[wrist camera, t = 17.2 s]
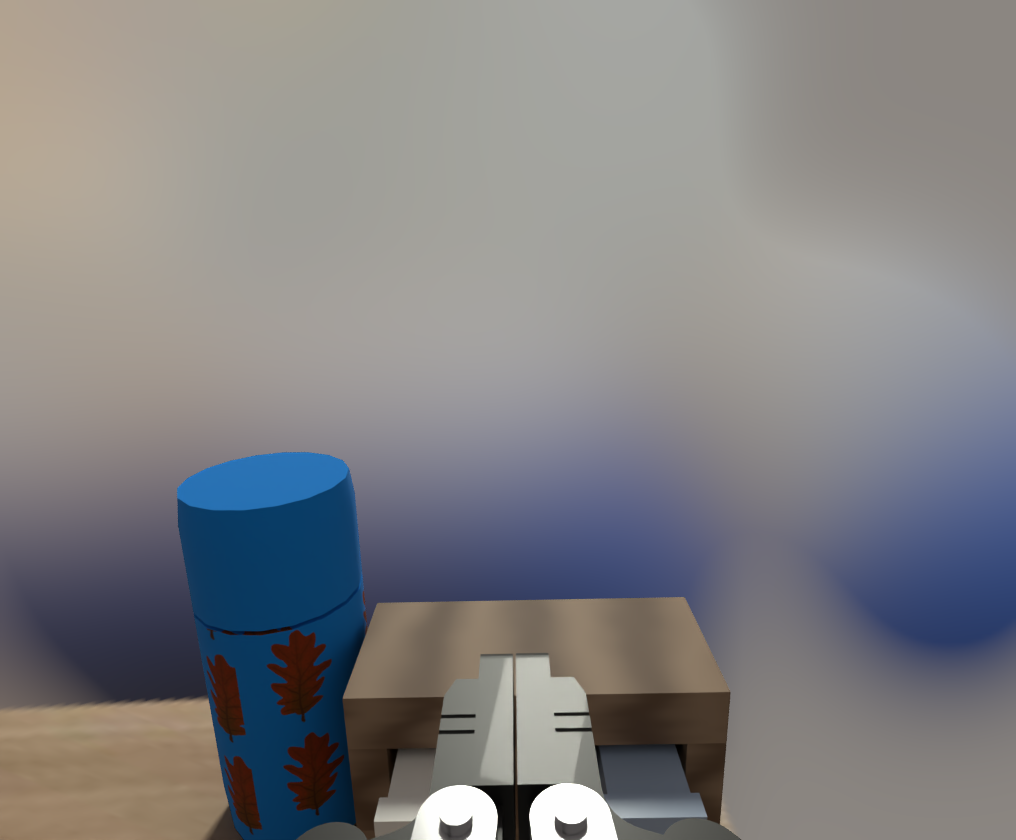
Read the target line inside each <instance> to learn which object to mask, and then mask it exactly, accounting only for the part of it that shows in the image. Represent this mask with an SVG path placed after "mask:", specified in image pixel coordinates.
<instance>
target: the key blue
mask: <svg viewBox="0 0 1016 840" xmlns="http://www.w3.org/2000/svg"><path fill="white" fill-rule="evenodd" d="M595 751H596V757H597V763H598V769H599V775H600V781H601V787H602V792H603V795H604V798H605V800H606V802H607V803H608V805H609V806H610V808H611V809H612V810H613V811H614V812H615V813H616V814H617V815H618V816H619V817H620V818H622V819H623V820H625V821H626V822H628V823H630V824H632V825H634V826H636V827H639V828H642V829H645V830H648V831H652V832H655V833H659V834H662V835H664V833H665V831H666V830H667V829H668V828H669V827H670V826H671V825H672V824H674V823H675V822H678V821H680V820H684V819H689V818H699V819H705V820H707V814H706V811H705V808H704V805H703V802H702V800H701V797H700V794H699V793H690V789H689V786H688V783H687V780H686V777H685V774H684V771H683V768H682V765H681V762H680V759H679V756H678V753H677V749H676V746H675V744H645V745H595Z"/></svg>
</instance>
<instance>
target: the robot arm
mask: <svg viewBox="0 0 1016 840" xmlns="http://www.w3.org/2000/svg"><path fill="white" fill-rule="evenodd" d="M516 707H517V788H518V828H519V840H741V839H740V838H739V837H737V836H736V835H735V834H733V833H732V832H731V831H729V830H728V829H727V828H725V827H723V826H721V825H720V824H718V823H715V822H712V821H710V820H705V819H699V818H689V819H684V820H680V821H678V822H675V823H674V824H672V825H671V826H670V827H669V828H668V829H667V830H666V831H665V833H664V835H662V834H659V833H655V832H652V831H648V830H645V829H642V828H639V827H636V826H634V825H632V824H630V823H628V822H626V821H625V820H623V819H622V818H620V817H619V816H618V815H617V814H616V813H615V812H614V811H613V810H612V809H611V808H610V806H609V805H608V803H607V802H606V800H605V798H604V795H603V792H602V787H601V781H600V775H599V769H598V763H597V757H596V751H595V745H594V739H593V733H592V726H591V720H590V716H589V708H588V702H587V696H586V692H585V691H584V690H583V689H582V687H581V686H580V685H579V683H578V682H577V681H576V679H575V678H574V677H551V675H550V664H549V654H548V653H516ZM296 840H367V838H366V836H365V835H364V833H363V832H362V831H361V830H360V829H359V828H357V827H356V826H354V825H351V824H349V823H344V822H331V823H326V824H322V825H319V826H316V827H314V828H312V829H310V830H308V831H307V832H305V833H304V834H302V835H301V836H300V837H299V838H297V839H296ZM369 840H516V795H515V711H514V671H513V654H481V655H480V665H479V678H478V679H456V680H455V681H454V683H453V684H452V686H451V687H450V688H449V690H448V691H447V692H446V694H445V695H444V700H443V707H442V714H441V720H440V727H439V734H438V741H437V748H436V754H435V761H434V768H433V775H432V782H431V788H430V794H429V798H428V799H427V800H426V801H425V802H424V803H423V804H422V806H421V807H420V809H419V811H418V814H417V817H416V818H415V819H414V820H413V821H411V822H410V823H409V824H407V825H406V826H404V827H402V828H400V829H399V830H396V831H394V832H391V833H388V834H385V835H382V836H379V837H376V838H373V839H369Z"/></svg>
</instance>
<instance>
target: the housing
mask: <svg viewBox="0 0 1016 840" xmlns="http://www.w3.org/2000/svg"><path fill="white" fill-rule="evenodd" d="M516 653H548V654H549V664H550V675H551V677H574V678H575V679H576V681H577V682H578V683H579V685H580V686H581V687H582V689H583V690H584V691H585V692H586V696H587V702H588V708H589V716H590V720H591V726H592V733H593V739H594V745H645V744H675V746H676V749H677V753H678V756H679V759H680V762H681V765H682V768H683V771H684V774H685V777H686V780H687V783H688V786H689V789H690V793H699V794H700V797H701V800H702V802H703V805H704V808H705V811H706V814H707V820H710V821H712V822H715V823H718V824H720V815H721V802H722V790H723V778H724V765H725V753H726V741H727V729H728V716H729V704H730V690H729V688H728V686H727V684H726V682H725V680H724V678H723V675H722V673H721V671H720V669H719V667H718V665H717V663H716V661H715V659H714V657H713V655H712V653H711V651H710V649H709V647H708V645H707V643H706V640H705V639H704V636H703V634H702V632H701V630H700V628H699V626H698V624H697V622H696V620H695V618H694V616H693V614H692V612H691V610H690V608H689V605H688V604H687V601H686V599H685V598H684V597H676V598H675V597H674V598H673V597H672V598H625V599H623V598H619V599H569V600H568V599H567V600H517V601H516V600H514V601H462V602H412V603H411V602H409V603H377V606H376V609H375V611H374V614H373V617H372V620H371V622H370V625H369V628H368V630H367V633H366V636H365V639H364V641H363V644H362V647H361V649H360V652H359V655H358V658H357V660H356V663H355V666H354V669H353V671H352V674H351V677H350V679H349V682H348V685H347V688H346V690H345V693H344V696H343V708H344V717H345V726H346V735H347V744H348V753H349V763H350V772H351V781H352V790H353V799H354V808H355V817H356V826H357V828H359V829H360V830H361V831H362V832H363V833H364V835H365V836H366V838H367V840H369V839H373V838H375V830H374V818H375V814H376V810H377V806H378V801H379V798H381V797H388V793H389V789H390V784H391V779H392V775H393V770H394V766H395V761H396V757H397V752H398V749H403V748H437V741H438V734H439V727H440V720H441V714H442V707H443V700H444V695H445V694H446V692H447V691H448V690H449V688H450V687H451V686H452V684H453V683H454V681H455V680H456V679H478V678H479V665H480V655H481V654H513V671H514V711H515V795H516V840H519V828H518V788H517V707H516Z"/></svg>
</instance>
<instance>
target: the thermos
mask: <svg viewBox="0 0 1016 840" xmlns="http://www.w3.org/2000/svg"><path fill="white" fill-rule="evenodd" d="M177 497H178V498H177V499H178V527H179V532H180V538H181V544H182V550H183V555H184V560H185V566H186V573H187V578H188V584H189V589H190V595H191V601H192V607H193V612H194V618H195V624H196V629H197V635H198V641H199V646H200V651H201V657H202V663H203V668H204V675H205V680H206V686H207V692H208V697H209V703H210V709H211V714H212V720H213V726H214V731H215V737H216V743H217V748H218V754H219V760H220V765H221V771H222V777H223V782H224V787H225V791H226V795H227V799H228V803H229V807H230V811H231V814H232V818H233V822H234V826H235V829H236V830H237V831H238V833H239V834H240V835H241V837H242V838H243V839H244V840H296V839H297V838H299V837H300V836H301V835H302V834H304V833H305V832H307V831H308V830H310V829H312V828H314V827H316V826H319V825H322V824H326V823H331V822H344V823H349V824H351V825H354V824H355V823H356V817H355V808H354V799H353V790H352V781H351V772H350V763H349V753H348V744H347V735H346V726H345V717H344V708H343V696H344V693H345V690H346V688H347V685H348V682H349V679H350V677H351V674H352V671H353V669H354V666H355V663H356V660H357V658H358V655H359V652H360V649H361V647H362V644H363V641H364V639H365V636H366V633H367V620H366V609H365V598H364V589H363V588H364V587H363V578H362V566H361V557H360V556H361V555H360V545H359V535H358V524H357V514H356V503H355V492H354V488H353V484H352V479H351V475H350V471H349V468H348V467H347V465H346V464H345V463H344V461H343V460H340V459H338V458H335V457H332V456H330V455H324V454H316V453H309V452H297V453H296V452H293V453H292V452H290V453H289V452H288V453H287V452H284V453H274V454H265V455H256V456H251V457H246V458H242V459H237V460H232V461H228V462H225V463H222V464H219V465H216V466H213V467H210V468H207V469H205V470H203V471H201V472H199V473H197V474H195V475H193V476H191V477H189V478H187V479H186V480H185V481H184V482H183V483H182V484H181V485H180V486H179V487H178V488H177Z"/></svg>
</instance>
